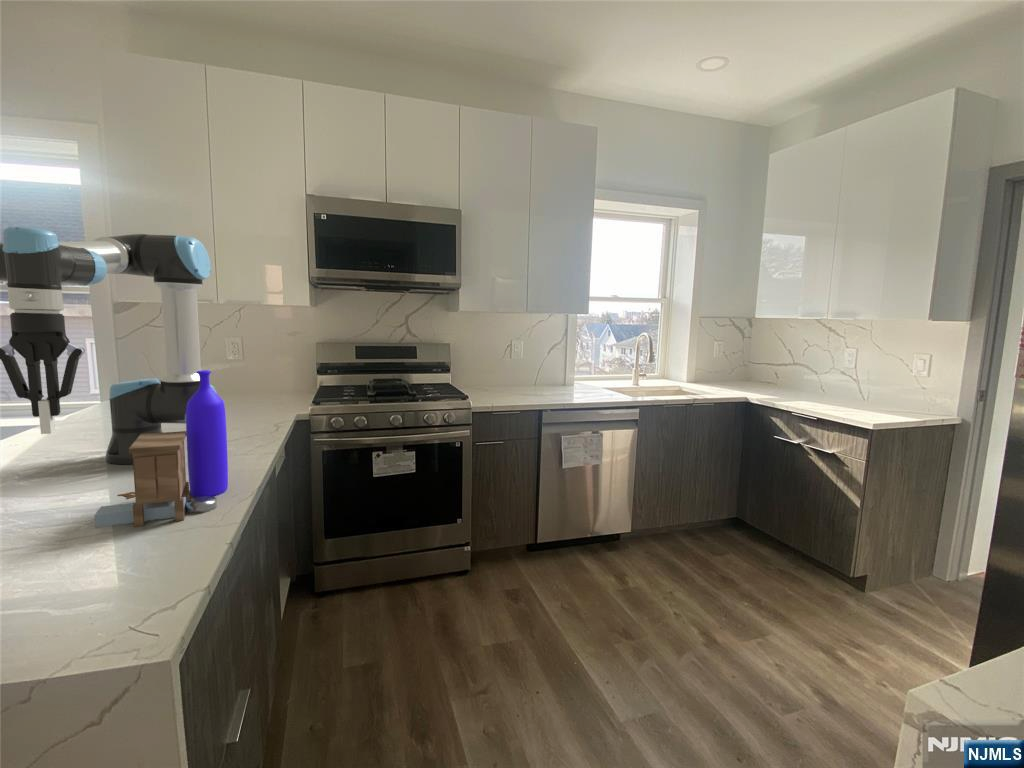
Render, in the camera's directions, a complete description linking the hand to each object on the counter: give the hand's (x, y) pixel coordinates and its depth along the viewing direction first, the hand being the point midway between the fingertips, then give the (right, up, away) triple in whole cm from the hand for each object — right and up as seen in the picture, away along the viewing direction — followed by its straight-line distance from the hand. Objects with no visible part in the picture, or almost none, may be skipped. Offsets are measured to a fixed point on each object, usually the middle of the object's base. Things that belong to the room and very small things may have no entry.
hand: (48, 432), depth 98 cm
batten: (+13, -19, +8) cm, 25 cm away
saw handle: (+7, -17, +27) cm, 33 cm away
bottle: (+17, -17, +24) cm, 34 cm away
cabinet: (+15, -19, +11) cm, 26 cm away
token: (+22, -19, +14) cm, 32 cm away
